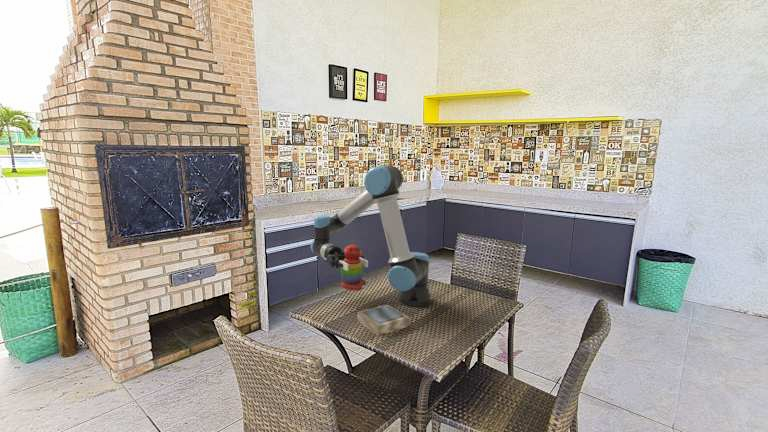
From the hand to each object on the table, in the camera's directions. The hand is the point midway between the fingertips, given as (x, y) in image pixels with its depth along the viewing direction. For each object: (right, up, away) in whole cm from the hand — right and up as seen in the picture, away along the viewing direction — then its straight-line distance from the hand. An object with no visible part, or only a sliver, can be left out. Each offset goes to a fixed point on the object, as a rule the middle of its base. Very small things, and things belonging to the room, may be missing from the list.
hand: (357, 265), depth 156 cm
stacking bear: (-3, -9, +5) cm, 11 cm away
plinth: (+10, -23, -1) cm, 26 cm away
